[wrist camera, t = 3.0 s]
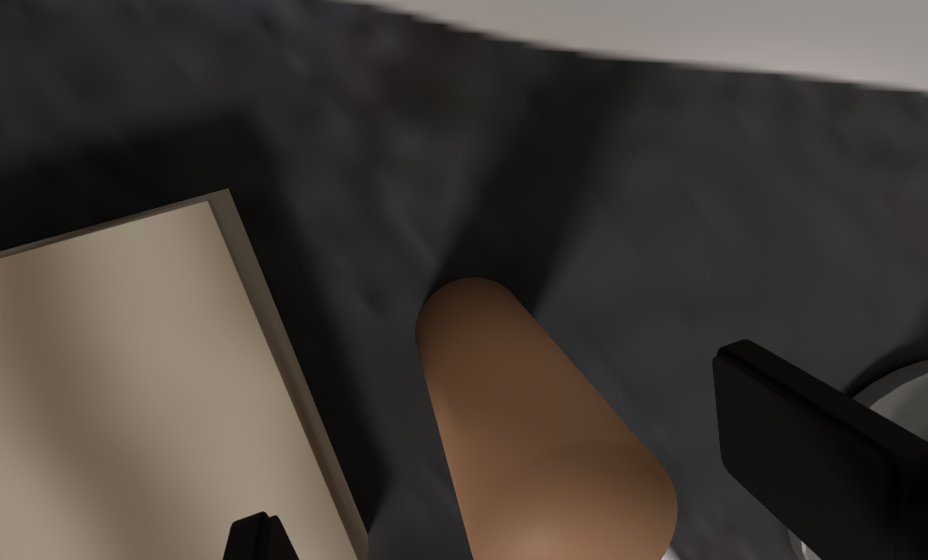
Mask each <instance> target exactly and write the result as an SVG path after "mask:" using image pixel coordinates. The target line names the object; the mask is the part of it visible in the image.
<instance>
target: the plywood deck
mask: <svg viewBox="0 0 928 560" xmlns="http://www.w3.org/2000/svg"><path fill="white" fill-rule="evenodd" d="M262 511H264V512H266V513H267V514H268V516H269V517H271V516H274V515H277V516H278V517H279V519H280V520H281V522H282V524H283V527H284V529H285V531H286V533H287V535H288V537H289V539H290V541H291V543H292V545H293V547H294V549H295V552H296V554H297V556H298V558H299V560H369V552H368V534H367V532H366V529H365V527H364V524H363V522H362V519H361V517H360V514H359V512H358V510H357V507H356V505H355V502H354V500H353V497H352V495H351V492H350V490H349V487H348V485H347V482H346V480H345V477H344V475H343V472H342V470H341V467H340V465H339V462H338V460H337V457H336V455H335V452H334V450H333V447H332V445H331V442H330V440H329V437H328V435H327V432H326V430H325V427H324V425H323V422H322V420H321V417H320V415H319V412H318V410H317V407H316V405H315V402H314V400H313V398H312V395H311V393H310V390H309V388H308V385H307V383H306V380H305V378H304V375H303V373H302V370H301V368H300V365H299V363H298V360H297V358H296V355H295V353H294V350H293V348H292V345H291V343H290V340H289V338H288V335H287V333H286V330H285V328H284V325H283V323H282V320H281V318H280V315H279V313H278V310H277V308H276V305H275V303H274V300H273V298H272V295H271V293H270V291H269V288H268V286H267V283H266V281H265V278H264V276H263V273H262V271H261V268H260V266H259V263H258V261H257V258H256V256H255V253H254V251H253V248H252V246H251V243H250V241H249V238H248V236H247V233H246V231H245V228H244V226H243V223H242V221H241V218H240V216H239V213H238V211H237V208H236V206H235V203H234V201H233V198H232V196H231V193H230V191H229V188H227V189H224V190H220V191H216V192H213V193H209V194H206V195H202V196H198V197H195V198H191V199H188V200H184V201H180V202H177V203H173V204H170V205H166V206H162V207H159V208H155V209H151V210H148V211H144V212H141V213H137V214H133V215H130V216H126V217H123V218H119V219H115V220H112V221H108V222H104V223H101V224H97V225H94V226H90V227H86V228H83V229H79V230H76V231H72V232H68V233H65V234H61V235H58V236H54V237H50V238H47V239H43V240H39V241H36V242H32V243H29V244H25V245H21V246H18V247H14V248H11V249H7V250H3V251H0V560H223V556H224V552H225V548H226V544H227V539H228V535H229V531H230V527H231V525H232V523H233V522H234V521H237V520H239V519H242V518H245V517H248V516H251V515H253V514H256V513H259V512H262Z"/></svg>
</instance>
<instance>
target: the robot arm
mask: <svg viewBox="0 0 928 560" xmlns="http://www.w3.org/2000/svg"><path fill="white" fill-rule="evenodd" d="M712 365H713V376H714V387H715V397H716V408H717V418H718V429H719V440H720V450H721V458H722V461H723V464H724V466H725V468H726V469H727V471H728V472H729V473H730V474H731V475H732V476H733V477H734V478H735V479H736V480H737V481H738V482H739V483H740V484H741V485H742V486H743V487H744V488H746V489H747V490H748V491H749V492H750V493H751V494H752V495H753V496H754V497H755V498H756V499H757V500H758V501H759V502H760V503H762V504H763V505H764V506H765V507H766V508H767V509H768V510H769V511H770V512H771V513H772V514H773V515H774V516H775V517H776V518H778V519H779V520H780V521H781V522H782V523H783V524H784V525H785V526H786V527H787V528H788V533H789V537H790V541H791V545H792V548H793V550H794V552H795V554H796V555H797V557H798V559H799V560H928V360H925V361H920V362H918V363H915V364H912V365H909V366H906V367H904V368H901V369H898V370H896V371H894V372H892V373H890V374H888V375H886V376H885V377H883V378H881V379H879V380H877V381H875V382H873V383H872V384H870V385H869V386H868V387H866V388H865V389H864V390H862V391H861V392H860V393H858V394H857V395H856V396H854V397H853V398H850V397H849V396H847V395H845V394H843V393H842V392H840V391H838V390H836V389H835V388H833V387H831V386H829V385H827V384H826V383H824V382H822V381H820V380H819V379H817V378H815V377H813V376H812V375H810V374H808V373H806V372H805V371H803V370H801V369H799V368H798V367H796V366H794V365H792V364H791V363H789V362H787V361H785V360H784V359H782V358H780V357H778V356H777V355H775V354H773V353H771V352H770V351H768V350H766V349H764V348H763V347H761V346H759V345H757V344H756V343H754V342H752V341H750V340H747V339H743V340H740V341H737V342H734V343H732V344H729V345H726V346H723V347H721V348H720V349H718V352H717V356H716V357H714V358H713V361H712ZM223 560H299V558H298V556H297V554H296V552H295V549H294V547H293V545H292V543H291V541H290V539H289V537H288V535H287V533H286V531H285V529H284V527H283V524H282V522H281V520H280V519H279V517H278V516H277V515H274V516H271V517H269V516H268V514H267V513H266V512H264V511H262V512H259V513H256V514H253V515H251V516H248V517H245V518H242V519H239V520H237V521H234V522H233V523H232V525H231V527H230V531H229V535H228V539H227V544H226V548H225V552H224V556H223Z"/></svg>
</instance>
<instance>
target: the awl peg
mask: <svg viewBox="0 0 928 560" xmlns="http://www.w3.org/2000/svg"><path fill="white" fill-rule="evenodd" d="M415 339H416V344H417V349H418V352H419V356H420V360H421V364H422V367H423V371H424V375H425V379H426V382H427V386H428V390H429V394H430V398H431V401H432V405H433V409H434V413H435V416H436V420H437V424H438V428H439V431H440V435H441V439H442V443H443V446H444V450H445V454H446V458H447V462H448V465H449V469H450V473H451V477H452V480H453V484H454V488H455V492H456V495H457V499H458V503H459V507H460V510H461V514H462V518H463V522H464V526H465V529H466V533H467V537H468V541H469V544H470V548H471V552H472V556H473V559H474V560H661V559H662V557H663V556H664V554H665V552H666V550H667V548H668V546H669V544H670V542H671V539H672V536H673V534H674V530H675V526H676V521H677V510H678V508H677V497H676V493H675V488H674V486H673V483H672V481H671V478H670V477H669V475H668V474H667V472H666V470H665V469H664V468H663V466H662V465H661V464H660V463H659V462H658V461H657V460H656V458H655V457H654V456H653V455H652V454H651V453H650V451H649V450H648V449H647V448H646V447H645V446H644V445H643V443H642V442H641V441H640V440H639V439H638V438H637V437H636V435H635V434H634V433H633V432H632V431H631V430H630V428H629V427H628V426H627V425H626V424H625V423H624V422H623V420H622V419H621V418H620V417H619V416H618V415H617V414H616V412H615V411H614V410H613V409H612V408H611V407H610V405H609V404H608V403H607V402H606V401H605V400H604V399H603V397H602V396H601V395H600V394H599V393H598V392H597V390H596V389H595V388H594V387H593V386H592V385H591V384H590V382H589V381H588V380H587V379H586V378H585V377H584V376H583V374H582V373H581V372H580V371H579V370H578V369H577V367H576V366H575V365H574V364H573V363H572V362H571V361H570V359H569V358H568V357H567V356H566V355H565V354H564V352H563V351H562V350H561V349H560V348H559V347H558V346H557V344H556V343H555V342H554V341H553V340H552V339H551V338H550V336H549V335H548V334H547V333H546V332H545V331H544V329H543V328H542V327H541V326H540V325H539V324H538V323H537V321H536V320H535V319H534V318H533V317H532V316H531V315H530V313H529V312H528V311H527V310H526V309H525V308H524V306H523V305H522V304H521V303H520V302H519V301H518V300H517V298H516V297H515V296H514V295H513V294H512V293H511V292H510V291H509V290H508V289H507V288H506V287H504V286H503V285H501V284H499V283H497V282H495V281H492V280H489V279H485V278H473V277H471V278H463V279H459V280H456V281H453V282H450V283H448V284H446V285H445V286H443V287H441V288H440V289H438V290H437V291H436V292H435V293H434V294H432V295H431V297H430V298H429V299H428V300H427V301H426V303H425V304H424V306H423V307H422V309H421V311H420V313H419V316H418V319H417V322H416V328H415Z"/></svg>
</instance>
